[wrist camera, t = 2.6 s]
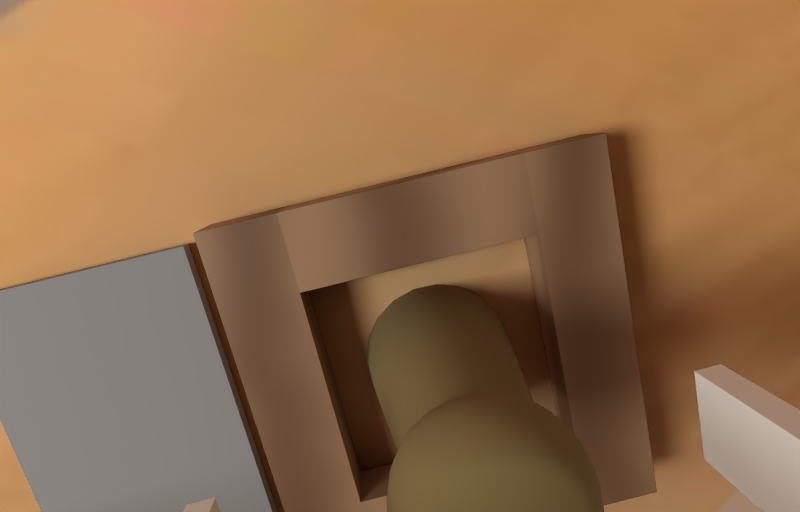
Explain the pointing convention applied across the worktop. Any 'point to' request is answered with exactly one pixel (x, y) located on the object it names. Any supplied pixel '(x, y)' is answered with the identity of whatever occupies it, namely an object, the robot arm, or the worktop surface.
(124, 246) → the worktop surface
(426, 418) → the cork
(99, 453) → the grey mat
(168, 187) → the worktop surface
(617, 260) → the walnut holder
